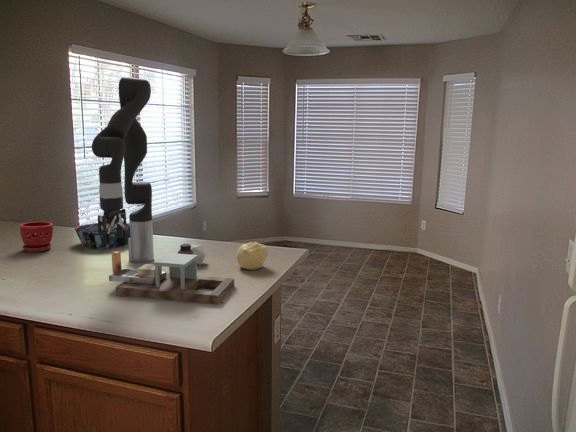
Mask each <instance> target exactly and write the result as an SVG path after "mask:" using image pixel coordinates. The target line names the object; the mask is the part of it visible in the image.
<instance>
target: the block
mask: <svg viewBox="0 0 576 432" xmlns="http://www.w3.org/2000/svg"><path fill="white" fill-rule="evenodd" d="M162 267H163V266H159V274H160V273H161V272H162V271H163V270H162V269H163V268H162ZM137 269H138V277H149V278H154V277H155V266H154V263H144V264H143V265H142V266H140V267H138V268H137Z"/></svg>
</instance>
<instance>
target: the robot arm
mask: <svg viewBox="0 0 576 432" xmlns="http://www.w3.org/2000/svg"><path fill="white" fill-rule="evenodd" d="M151 94H152V89H151V83H150V81H149V80H148V79H145V78H144V79H143V78H138V77H131V76H130V77H126V76H124V77H121V78H120V79H119V82H118V100H119V107H120V108H119V109H118V110H117V111H115V112H114V113H112V116H111V117H110V119H109V121H108V123H107V125H106V126H105V127H104V128H103V129H102V130H101V131H100V132H99V133H98V134H96V136H95V137H94V138H93V140H92V143H91V151H92V153H93V155H94V156H96V157H98V158H101V159H105V158H107V159H108V158H109V159H111V161H110V163H108V164H103V165H100V166H99V168H98V177H99V178H98V179H99V187H98V189H99V190H98V192H99V193H98V194H99V208H100V210H101V211H103V214H102V215H101V214H100V215H99V214H98V215H97V223H98V233H102V234H103V243H104V244H110V234H109V232H110V229H111V228H112V227H113V225H114V224H115V225H116V227H117V228H116V234H117V238H123V227H124V225H126V224H128V223H127V213H126V212H127V211H126V208H124V200H125V203H126V204H128V205H143V207H141V208H139V209H137V210H135V211H132V212H130V213H129V217H128V218H129V224H130V238H129V239H128V244H127V245H128V260H129V261H132V262H134V263H147V262H150V261H153V260H154V259H155V258H154V257H155V256H154V233H153V231H154V229H153V211H152V210H153V208H152V206H153V205H152V203H153V200H152V199H153V188H152V184H151V183H150V182H148V181H134V182H133V179H134V177H135V174H136V171H137V170H138V168H139V167H140V166H141V164H142V162H143V161H144V160H145V158H146V156H147V153H148V136H147V134H146V132H145V130H144V128H143V127H142V126H141V123H140V122H139V121H138V119H137V117H138V115H140V114H141V112H142V111H143V110H144V108H145V107H146V106H147V104H148V103H149V101H150V100H151V99H150V98H151ZM123 163H124V167H123V168H124V178H123V179H124V185H123V184H122V165H123ZM123 186H124V191H123ZM123 192H124V193H123ZM123 194H124V195H123ZM123 196H124V197H123ZM106 223H107V224H106ZM101 226H103V227H102V229H101ZM106 228H107V230H106Z"/></svg>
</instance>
